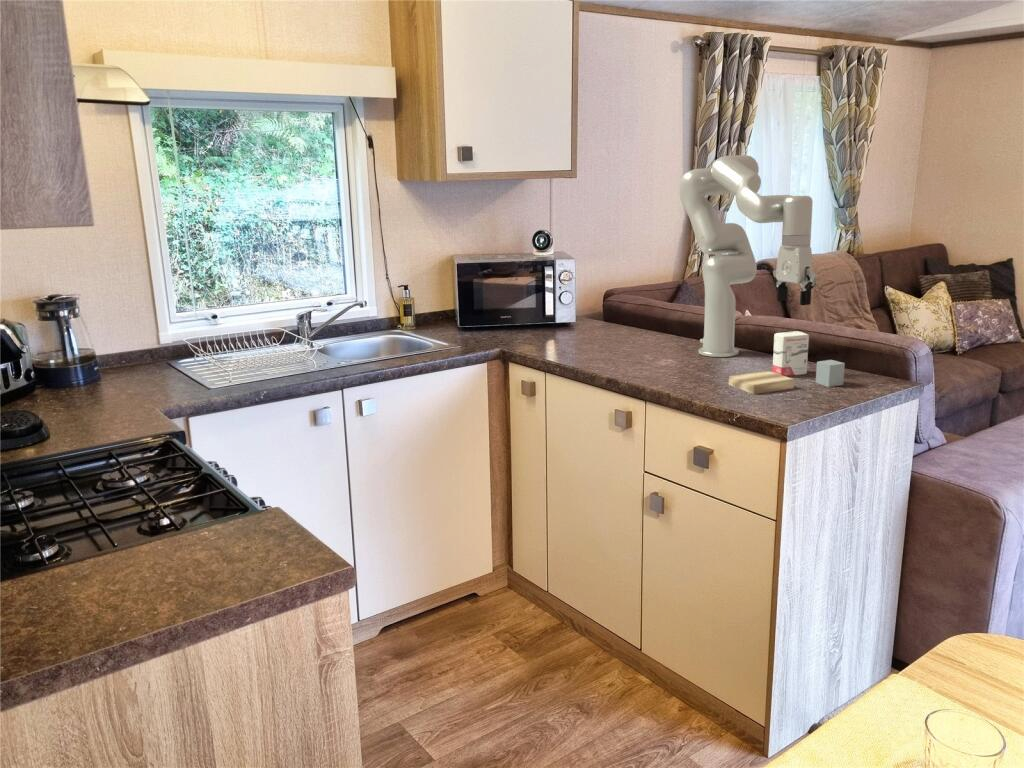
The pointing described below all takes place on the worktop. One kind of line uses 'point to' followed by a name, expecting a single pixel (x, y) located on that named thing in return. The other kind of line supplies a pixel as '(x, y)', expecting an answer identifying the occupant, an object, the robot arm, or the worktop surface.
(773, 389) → the oak slab
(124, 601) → the worktop surface
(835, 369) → the light gray block
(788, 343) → the ink box
